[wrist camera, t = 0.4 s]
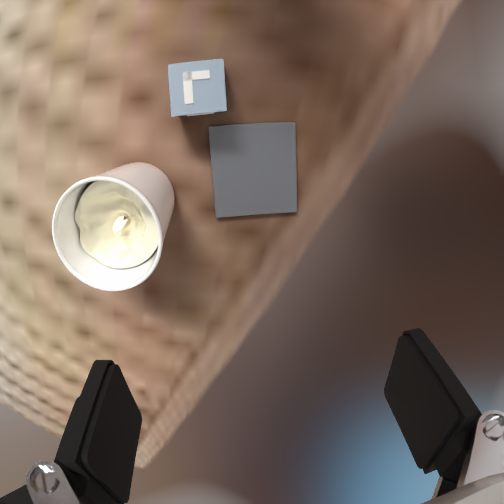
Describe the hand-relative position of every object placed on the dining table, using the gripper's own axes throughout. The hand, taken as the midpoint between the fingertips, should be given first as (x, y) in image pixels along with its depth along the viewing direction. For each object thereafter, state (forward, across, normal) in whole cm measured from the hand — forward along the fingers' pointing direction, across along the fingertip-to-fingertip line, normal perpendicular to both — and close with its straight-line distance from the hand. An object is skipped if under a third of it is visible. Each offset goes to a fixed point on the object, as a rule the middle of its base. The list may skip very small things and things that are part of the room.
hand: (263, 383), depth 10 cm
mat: (+27, -2, -2) cm, 28 cm away
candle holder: (+28, +11, 0) cm, 30 cm away
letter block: (+28, +3, -11) cm, 30 cm away
